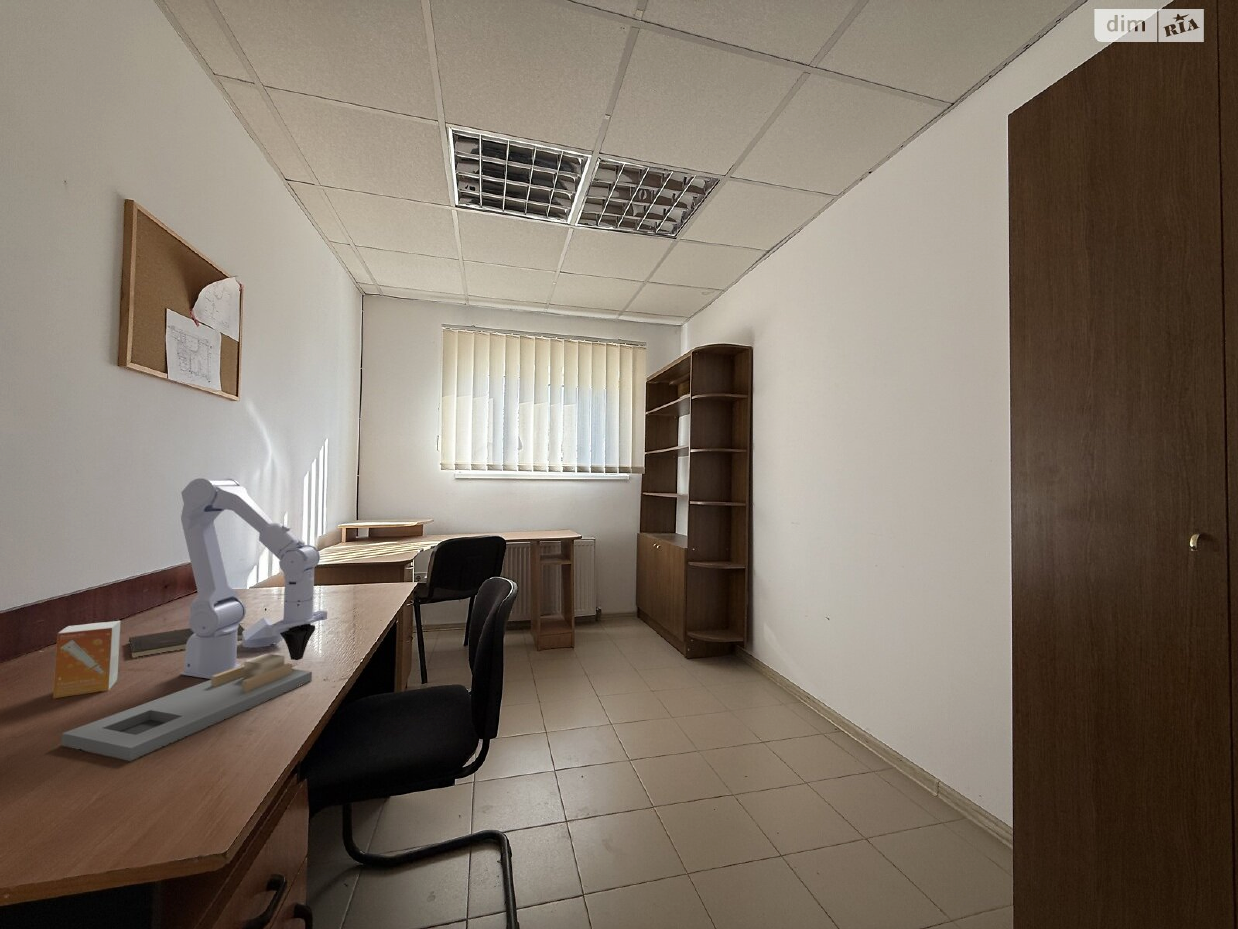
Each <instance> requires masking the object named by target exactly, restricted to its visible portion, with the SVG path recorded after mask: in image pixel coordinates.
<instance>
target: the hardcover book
mask: <svg viewBox="0 0 1238 929" xmlns="http://www.w3.org/2000/svg"><path fill="white" fill-rule="evenodd" d="M237 630H238V631H237V641H240V640H241V641H242V632H243V631H244V630H246V629H245V628H244V627H243V626H242V625H241V624H240V623H239V627H238V629H237ZM193 634H194V632H193V631H192V630H191V628H190V627H188V628H181V629H176V630H174V629H173V630H169V631H163V632H155V633H148V634H143V635H136V636H130V637H128V643H129V642H130V644H129V647H130V653H131V657H137V656H142V655H148V654H154V653H159V652H164V651H170V650H177V651H181V650H180V649H183V650H186V643H187V641H188V639H189V638H190V637H191V636H192V635H193ZM154 655H155V654H154ZM137 658H138V657H137Z"/></svg>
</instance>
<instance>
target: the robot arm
mask: <svg viewBox="0 0 1238 929" xmlns="http://www.w3.org/2000/svg"><path fill="white" fill-rule="evenodd" d="M181 498H182V502H183V504H182V505H183V506H182V510H181V516H180V519H181V525H182V529H183V534H184V538H185V543H186V547H187V552H188V554H189V555H188V556H189V560H190V564H191V565H190V566H191V568H192V573H193V578H194V581H195V586H196V591H197V595H196V597H195V598H194V599H193V600H192V602H191V603H190V605H189V609H190V615H189V620H188V623H189V624H188V625H189V628H191V630H192V631H193V632H194V634H193V635H192V636H191V637H190V638H189V639H188V641H187V643H186V649H185V654H184V657H185V658H184V670H183V671H180V675H183V676H189V677H190V676H191V677H195V678H203V679H208V680H211V678H212V676H213V675H216V674H219V673H222V672H224V671H227V670H230V669H233V668H236V667H239V666H241V665H244V664H243V663H237V653H238V651H237V650H238V649H237V648H238V640H237V631H238V630H237V629H238V627H239V624H240V623H241V622H242V621H243V620H244V618H245V616H246V614H247V610H246V606H245V603H244V602H243V601H242V600H241V599H240V597H239V592H238V591H237V590H235V589H233V588H232V587H230V586H229V582H228V578H227V575H226V574H227V573H226V569H225V566H224V561H223V556H222V552H221V549H220V545H219V544H220V543H219V540H218V535H217V531H216V528H215V523H214V522H215V520H216V519H217V517H219V515H220V514H221V513H222V512H224V511H226V510H229V511H233V513H235V514H236V515H238V517H240V518H241V519H242V520H244V521H245V522H246V523H247V524H248V525H249V526H250V527H252V528H253V529H254V530H255V531H257V532H258V534H259V536H258V540H259V542H260V543H261V544H262V545H263V546H264V547H265V548H266V549H267V550H268V551H270V552H271V553H272V554H273V555H274V556H275V558H277V559H278V560H279V561H278V563H279V567H280V569H281V571H282V572H283V575H284V576H283V577H284V579H283V580H284V595H283V596H284V598H283V600H284V601H283V619H281V620H279V621H277V622H274V624H272V625H270V626H267V627H265V636H275V635H276V634H278V633H280V634H281V636H282V637H283V640H284V642H285V644H286V647H287V650H288V652H289V657H290V660H294V661H300V660H302V659H303V658H304V655H305V651H306V649H307V645H308V643H309V641H310V640H311V637H312V635H313V633H314V632H315V631H316V625H314V624H312V623H316V622H318V621H325V620H328V611H327V610H319V611H315V612H314V595H315V594H314V593H315V592H314V589H315V587H314V586H315V567H317V566H318V565H319V562H320V559H321V557H320V552H319V551H318V550H317V547H316V546H314V545H311V544H306V543H305V541H304V540H303V539H300V538H298V537H297V536H296V534H295V533H293V532H292V531H291V529H292V527H290V526H289V525H288V524H284V523H282V522H277V523H276V522H275V523H274V521H273V520H272V519H271V518H270V517H269V516H268V515H267V513H265V512H264V511H263V509H261V507H259V505H258V504H257V503H256V502H255V501H254V500H253V499H252V497H250V495H249V494H248V491H247V489H246V488H245V487H244V486H242V485H241V484H240V483H239V481H237V480H235V479H233V478H221V479H220V478H204V477H203V478H201V477H200V478H195V479H193V480H191V481H190V482H189V483H188V484H187V485H186V486H185V487H184V489H183V490H182V491H181Z"/></svg>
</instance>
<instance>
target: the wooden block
mask: <svg viewBox="0 0 1238 929" xmlns="http://www.w3.org/2000/svg"><path fill="white" fill-rule="evenodd" d="M282 665H285V655H281V654H271V653H264V654H261V655H258V656H256V657H253V658H250V659H247V660H244V678H247V679H248V678H251V677H254V676H256V675H259V674H261V673H264V672H267V671H269V670H272V669H274V668H277V667H280V666H282Z"/></svg>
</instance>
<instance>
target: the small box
mask: <svg viewBox="0 0 1238 929" xmlns="http://www.w3.org/2000/svg"><path fill="white" fill-rule="evenodd" d="M120 633H121V620H115V621H114V620H113V621H107V622H103V621H102V622H94V623H86V624H85V623H83V624H78V625H77V624H76V625H68V626H66V627H65V628H63V629H62V630H60V631H59V632H57V636H56V638H57V639H56V651H55V662H54V663H55V664H54V665H55V666H54V678H53V679H54V680H53V697H52V698H53V699H58V698H64V697H70V696H77V695H85V694H93V693H98V692H99V691H100V692H107V691H109V690H110V689H112V687H113V686H114V684H116V682H117V681H118V674H119V673H118V670H119V652H120V637H121V634H120Z"/></svg>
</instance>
